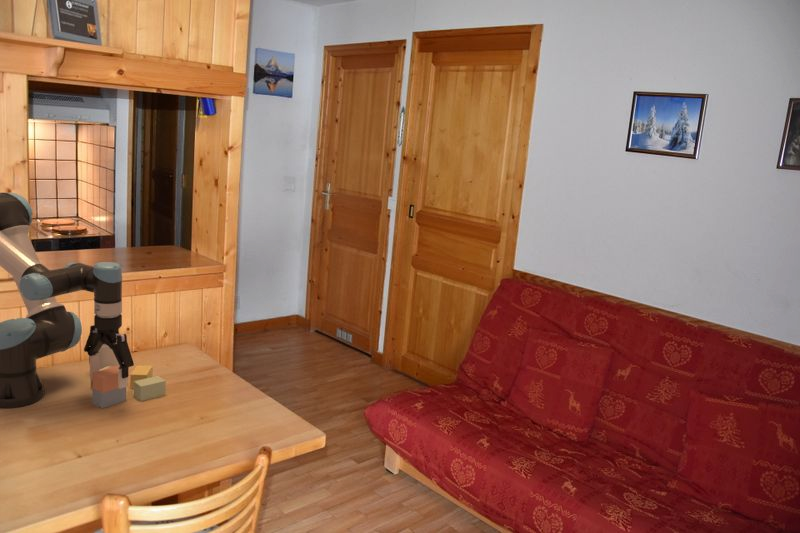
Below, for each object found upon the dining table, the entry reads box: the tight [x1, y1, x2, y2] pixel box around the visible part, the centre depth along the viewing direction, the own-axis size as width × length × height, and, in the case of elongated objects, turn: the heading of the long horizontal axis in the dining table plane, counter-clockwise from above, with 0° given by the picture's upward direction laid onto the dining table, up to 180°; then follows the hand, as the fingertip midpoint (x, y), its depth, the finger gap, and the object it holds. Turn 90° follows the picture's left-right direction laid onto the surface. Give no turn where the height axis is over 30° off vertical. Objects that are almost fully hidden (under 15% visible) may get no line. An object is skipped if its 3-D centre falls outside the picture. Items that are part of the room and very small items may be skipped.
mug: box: [96, 342, 120, 370], centre depth 221 cm, size 12×9×11 cm
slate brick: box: [91, 387, 127, 409], centre depth 200 cm, size 5×8×5 cm, turn 146°
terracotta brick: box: [93, 366, 119, 393], centre depth 199 cm, size 5×8×5 cm, turn 150°
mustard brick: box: [129, 364, 153, 390], centre depth 215 cm, size 5×8×5 cm, turn 8°
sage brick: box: [133, 375, 167, 402], centre depth 207 cm, size 5×8×5 cm, turn 137°
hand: (108, 381), depth 199 cm, fingers open, 13 cm apart
